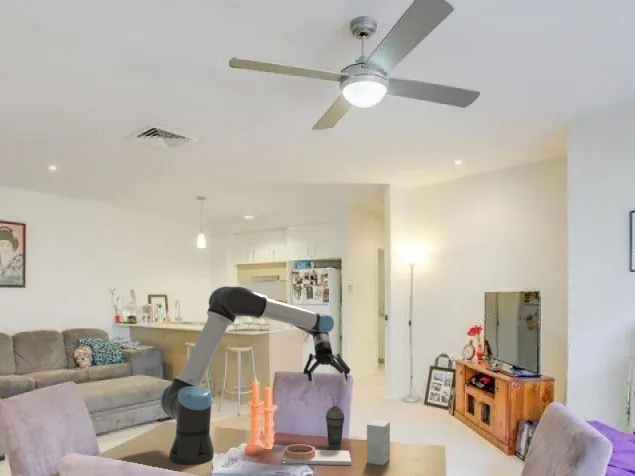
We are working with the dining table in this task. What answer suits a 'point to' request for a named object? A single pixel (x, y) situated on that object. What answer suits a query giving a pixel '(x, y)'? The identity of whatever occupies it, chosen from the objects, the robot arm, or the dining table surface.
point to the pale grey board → (324, 458)
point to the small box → (378, 442)
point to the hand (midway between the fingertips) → (329, 387)
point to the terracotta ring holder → (299, 452)
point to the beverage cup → (334, 426)
